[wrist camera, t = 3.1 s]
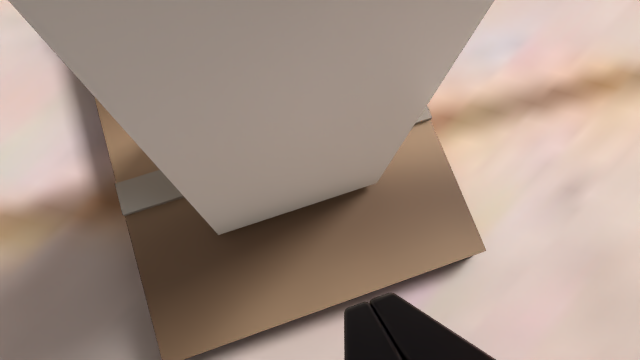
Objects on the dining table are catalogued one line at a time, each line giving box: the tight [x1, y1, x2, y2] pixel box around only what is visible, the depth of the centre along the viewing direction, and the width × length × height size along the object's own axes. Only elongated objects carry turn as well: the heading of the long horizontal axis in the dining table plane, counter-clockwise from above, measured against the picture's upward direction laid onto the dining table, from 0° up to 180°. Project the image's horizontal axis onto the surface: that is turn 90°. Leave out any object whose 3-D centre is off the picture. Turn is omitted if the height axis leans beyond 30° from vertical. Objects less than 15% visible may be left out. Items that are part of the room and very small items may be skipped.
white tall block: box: [8, 0, 494, 235], centre depth 10 cm, size 4×5×12 cm
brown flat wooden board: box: [94, 97, 486, 360], centre depth 17 cm, size 17×10×1 cm, turn 19°
